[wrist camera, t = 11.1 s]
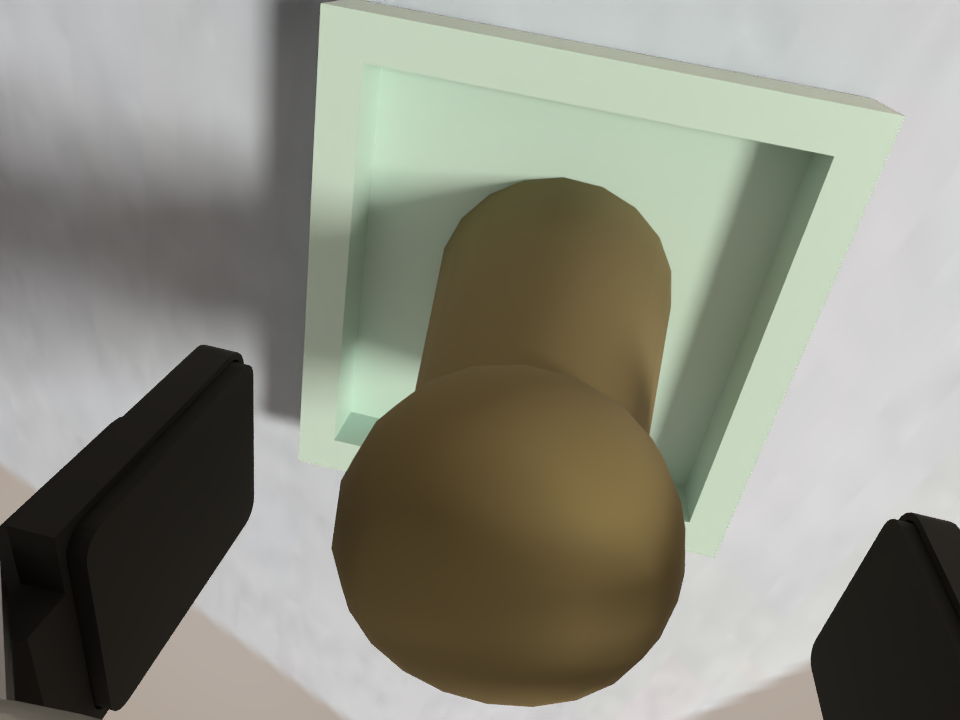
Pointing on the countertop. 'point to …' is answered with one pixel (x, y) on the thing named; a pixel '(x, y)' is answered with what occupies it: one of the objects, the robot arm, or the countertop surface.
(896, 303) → the countertop surface
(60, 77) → the countertop surface
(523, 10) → the countertop surface
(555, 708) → the countertop surface
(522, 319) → the cork
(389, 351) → the tray
